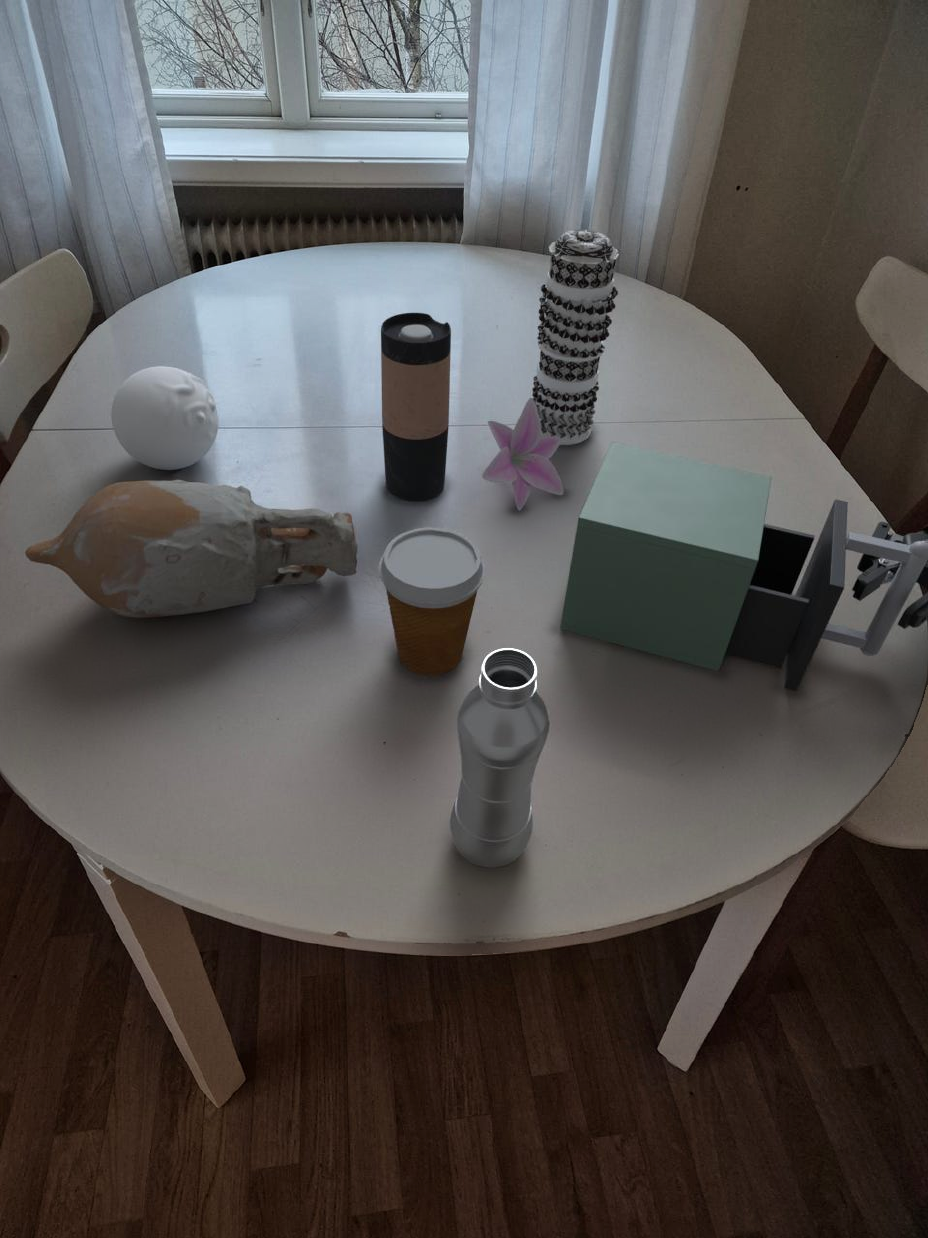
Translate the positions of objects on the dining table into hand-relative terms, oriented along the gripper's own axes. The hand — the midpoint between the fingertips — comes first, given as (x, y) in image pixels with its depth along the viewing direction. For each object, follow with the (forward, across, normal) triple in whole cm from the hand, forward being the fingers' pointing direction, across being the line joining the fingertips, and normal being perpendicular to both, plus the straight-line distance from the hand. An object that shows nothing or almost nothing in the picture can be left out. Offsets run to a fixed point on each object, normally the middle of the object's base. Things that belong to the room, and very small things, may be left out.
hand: (882, 605), depth 78 cm
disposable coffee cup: (+31, -26, +9) cm, 42 cm away
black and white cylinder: (-8, -50, +9) cm, 51 cm away
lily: (+6, -42, +9) cm, 44 cm away
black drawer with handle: (+3, -9, +9) cm, 13 cm away
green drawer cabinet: (+9, -18, +9) cm, 22 cm away
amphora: (+45, -46, +9) cm, 65 cm away
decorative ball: (+37, -71, +9) cm, 81 cm away
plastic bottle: (+40, -7, +9) cm, 42 cm away
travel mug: (+16, -50, +9) cm, 54 cm away
